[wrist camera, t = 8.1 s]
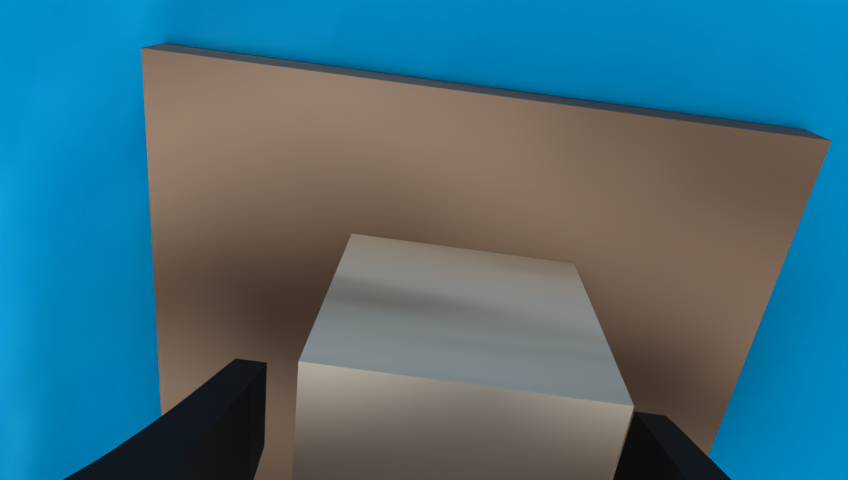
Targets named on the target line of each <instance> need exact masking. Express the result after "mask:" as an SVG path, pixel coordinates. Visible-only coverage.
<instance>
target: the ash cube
mask: <svg viewBox="0 0 848 480" xmlns="http://www.w3.org/2000/svg"><path fill="white" fill-rule="evenodd" d="M633 408H634V405H633V402H632V400H631V397H630V395H629V393H628V390H627V388H626V386H625V383H624V381H623V378H622V376H621V374H620V371H619V369H618V366H617V364H616V362H615V359H614V357H613V355H612V352H611V350H610V347H609V345H608V343H607V340H606V338H605V336H604V333H603V331H602V328H601V326H600V324H599V321H598V319H597V317H596V314H595V312H594V309H593V307H592V305H591V302H590V300H589V297H588V295H587V293H586V290H585V288H584V286H583V283H582V281H581V278H580V276H579V274H578V271H577V269H576V267H575V264H574V263H567V262H560V261H552V260H545V259H537V258H530V257H522V256H515V255H508V254H500V253H493V252H485V251H478V250H470V249H463V248H456V247H448V246H441V245H433V244H426V243H418V242H411V241H404V240H396V239H389V238H381V237H374V236H367V235H359V234H351V237H350V239H349V241H348V244H347V246H346V249H345V251H344V253H343V256H342V258H341V261H340V263H339V265H338V268H337V270H336V273H335V275H334V277H333V280H332V282H331V284H330V287H329V289H328V292H327V294H326V296H325V299H324V301H323V304H322V306H321V308H320V311H319V313H318V316H317V318H316V320H315V323H314V325H313V328H312V330H311V332H310V335H309V337H308V340H307V342H306V344H305V347H304V349H303V352H302V354H301V356H300V359H299V361H298V379H297V398H296V417H295V435H294V454H293V473H292V480H611V477H612V474H613V471H614V468H615V465H616V462H617V458H618V455H619V452H620V449H621V446H622V443H623V440H624V437H625V433H626V430H627V427H628V424H629V421H630V418H631V415H632V412H633Z"/></svg>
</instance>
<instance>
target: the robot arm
mask: <svg viewBox="0 0 848 480" xmlns="http://www.w3.org/2000/svg"><path fill="white" fill-rule="evenodd" d="M266 376H267V362H259V361H252V360H244V359H237V358H236V359H234V360H233V361H232V362H230V363H229V364H228V365H226V366H225V367H224V368H222V369H221V370H220V371H219V372H217V373H216V374H215V375H214V376H212V377H211V378H210V379H209V380H207V381H206V382H205V383H204V384H203V385H201V386H200V387H199V388H197V389H196V390H195V391H194V392H192V393H191V394H190V395H189V396H187V397H186V398H185V399H184V400H182V401H181V402H180V403H178V404H177V405H176V406H174V407H173V408H172V409H170V410H169V411H168V412H166V413H165V414H164V415H162V416H161V417H160V418H158V419H157V420H156V421H154V422H153V423H152V424H150V425H149V426H147V427H146V428H144V429H143V430H141V431H140V432H139V433H137V434H136V435H134V436H133V437H131V438H130V439H128V440H127V441H125V442H124V443H122V444H121V445H120V446H118V447H117V448H115V449H114V450H112V451H111V452H109V453H108V454H106V455H104V456H103V457H101V458H99V459H98V460H96V461H95V462H93V463H91V464H90V465H88V466H86V467H84V468H83V469H81V470H79V471H77V472H76V473H74V474H72V475H70V476H69V477H67V478H65V479H63V480H254V477H255V474H256V471H257V468H258V465H259V461H260V458H261V455H262V452H263V449H264V446H265V412H266ZM613 480H731V479H730V478H729V477H728V476H727V475H726V474H725V473H724V472H723V471H722V470H721V469H720V468H719V467H718V466H717V465H716V464H715V463H714V462H713V461H712V460H711V459H710V458H709V457H708V456H707V455H706V454H705V453H704V452H703V451H702V450H701V449H700V448H699V447H698V446H697V445H696V444H695V443H694V442H693V441H692V440H691V439H690V438H689V437H688V436H687V435H686V434H685V433H684V432H683V431H682V430H681V429H680V428H679V427H678V426H677V425H676V424H675V423H673V422H672V421H671V420H670V419H669V418H668V417H667V416H666V415H658V414H651V413H643V412H636V411H634V414H633V418H632V421H631V424H630V427H629V430H628V433H627V436H626V439H625V443H624V446H623V449H622V452H621V455H620V458H619V461H618V464H617V468H616V471H615V474H614V477H613Z"/></svg>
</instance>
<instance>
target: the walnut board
mask: <svg viewBox="0 0 848 480" xmlns="http://www.w3.org/2000/svg"><path fill="white" fill-rule="evenodd" d="M141 50H142V68H143V86H144V105H145V123H146V142H147V160H148V178H149V197H150V215H151V234H152V252H153V270H154V289H155V307H156V325H157V344H158V362H159V381H160V399H161V416H162V415H164V414H165V413H166V412H168V411H169V410H170V409H172V408H173V407H174V406H176V405H177V404H178V403H180V402H181V401H182V400H184V399H185V398H186V397H187V396H189V395H190V394H191V393H192V392H194V391H195V390H196V389H197V388H199V387H200V386H201V385H203V384H204V383H205V382H206V381H207V380H209V379H210V378H211V377H212V376H214V375H215V374H216V373H217V372H219V371H220V370H221V369H222V368H224V367H225V366H226V365H228V364H229V363H230V362H232V361H233V360H234V359H236V358H237V359H244V360H252V361H259V362H267V376H266V412H265V446H264V449H263V452H262V455H261V458H260V461H259V465H258V468H257V471H256V474H255V477H254V480H292V473H293V454H294V435H295V417H296V398H297V379H298V361H299V359H300V356H301V354H302V352H303V349H304V347H305V344H306V342H307V340H308V337H309V335H310V332H311V330H312V328H313V325H314V323H315V320H316V318H317V316H318V313H319V311H320V308H321V306H322V304H323V301H324V299H325V296H326V294H327V292H328V289H329V287H330V284H331V282H332V280H333V277H334V275H335V273H336V270H337V268H338V265H339V263H340V261H341V258H342V256H343V253H344V251H345V249H346V246H347V244H348V241H349V239H350V237H351V234H359V235H367V236H374V237H381V238H389V239H396V240H404V241H411V242H418V243H426V244H433V245H441V246H448V247H456V248H463V249H470V250H478V251H485V252H493V253H500V254H508V255H515V256H522V257H530V258H537V259H545V260H552V261H560V262H567V263H574V264H575V267H576V269H577V271H578V274H579V276H580V278H581V281H582V283H583V286H584V288H585V290H586V293H587V295H588V297H589V300H590V302H591V305H592V307H593V309H594V312H595V314H596V317H597V319H598V321H599V324H600V326H601V328H602V331H603V333H604V336H605V338H606V340H607V343H608V345H609V347H610V350H611V352H612V355H613V357H614V359H615V362H616V364H617V366H618V369H619V371H620V374H621V376H622V378H623V381H624V383H625V386H626V388H627V390H628V393H629V395H630V397H631V400H632V402H633V405H634V408H633V412H632V415H631V418H630V421H629V424H628V427H627V430H626V433H625V437H624V440H623V443H622V446H621V449H620V452H619V455H618V458H617V462H616V465H615V468H614V471H613V474H612V477H611V480H613V477H614V474H615V471H616V468H617V464H618V461H619V458H620V455H621V452H622V449H623V446H624V443H625V439H626V436H627V433H628V430H629V427H630V424H631V421H632V418H633V414H634V411H636V412H643V413H651V414H658V415H666V416H667V417H668V418H669V419H670V420H671V421H672V422H673V423H675V424H676V425H677V426H678V427H679V428H680V429H681V430H682V431H683V432H684V433H685V434H686V435H687V436H688V437H689V438H690V439H691V440H692V441H693V442H694V443H695V444H696V445H697V446H698V447H699V448H700V449H701V450H702V451H703V452H704V453H705V454H706V455H707V456H708V454H709V452H710V449H711V447H712V444H713V442H714V439H715V437H716V434H717V431H718V429H719V426H720V424H721V421H722V419H723V416H724V414H725V411H726V408H727V406H728V403H729V401H730V398H731V396H732V393H733V391H734V388H735V386H736V383H737V380H738V378H739V375H740V373H741V370H742V368H743V365H744V363H745V360H746V357H747V355H748V352H749V350H750V347H751V345H752V342H753V340H754V337H755V334H756V332H757V329H758V327H759V324H760V322H761V319H762V317H763V314H764V312H765V309H766V306H767V304H768V301H769V299H770V296H771V294H772V291H773V289H774V286H775V283H776V281H777V278H778V276H779V273H780V271H781V268H782V266H783V263H784V260H785V258H786V255H787V253H788V250H789V248H790V245H791V243H792V240H793V238H794V235H795V232H796V230H797V227H798V225H799V222H800V220H801V217H802V215H803V212H804V209H805V207H806V204H807V202H808V199H809V197H810V194H811V192H812V189H813V187H814V184H815V181H816V179H817V176H818V174H819V171H820V169H821V166H822V164H823V161H824V158H825V156H826V153H827V151H828V148H829V146H830V143H831V140H828V139H826V138H824V137H821V136H819V135H816V134H814V133H812V132H809V131H807V130H803V129H795V128H788V127H781V126H773V125H766V124H758V123H751V122H744V121H736V120H729V119H721V118H714V117H706V116H699V115H692V114H684V113H677V112H669V111H662V110H654V109H647V108H640V107H632V106H625V105H617V104H610V103H602V102H595V101H588V100H580V99H573V98H565V97H558V96H550V95H543V94H536V93H528V92H521V91H513V90H506V89H498V88H491V87H484V86H476V85H469V84H461V83H454V82H446V81H439V80H432V79H424V78H417V77H409V76H402V75H394V74H387V73H380V72H372V71H365V70H357V69H350V68H342V67H335V66H328V65H320V64H313V63H305V62H298V61H290V60H283V59H276V58H268V57H261V56H253V55H246V54H238V53H231V52H224V51H216V50H209V49H201V48H194V47H187V46H179V45H172V44H164V43H163V44H158V45H153V46H148V47H143V48H141Z"/></svg>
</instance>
